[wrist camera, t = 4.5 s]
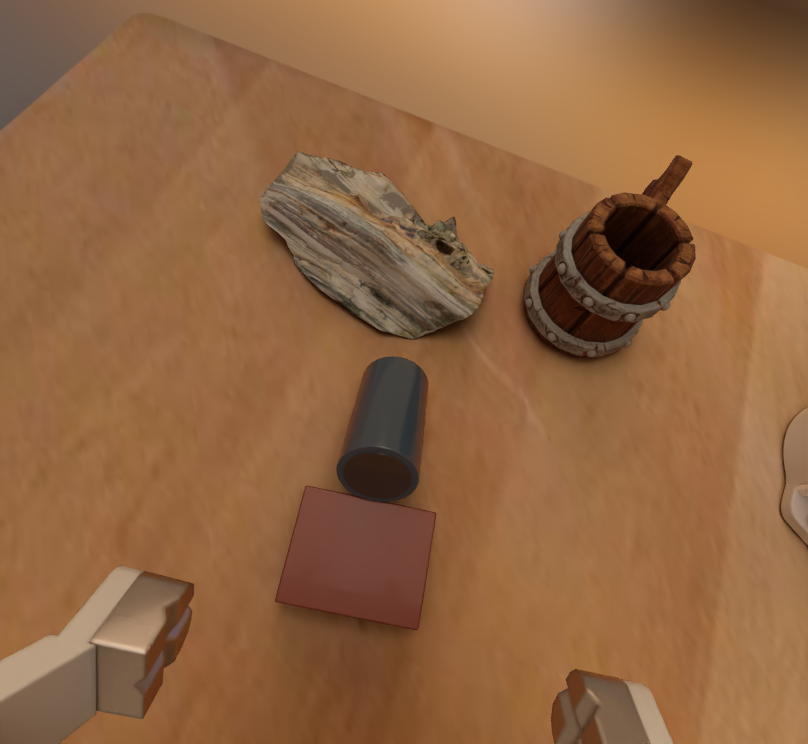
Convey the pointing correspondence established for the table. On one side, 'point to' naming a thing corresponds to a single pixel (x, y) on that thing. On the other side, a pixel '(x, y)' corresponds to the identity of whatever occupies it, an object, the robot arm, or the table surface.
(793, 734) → the table surface
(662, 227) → the mug
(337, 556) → the notebooks
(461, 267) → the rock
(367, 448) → the cup
